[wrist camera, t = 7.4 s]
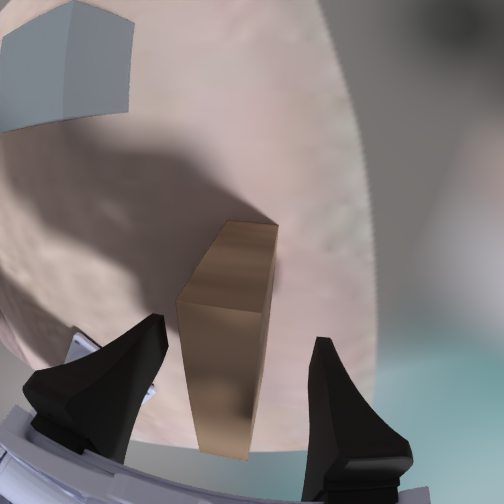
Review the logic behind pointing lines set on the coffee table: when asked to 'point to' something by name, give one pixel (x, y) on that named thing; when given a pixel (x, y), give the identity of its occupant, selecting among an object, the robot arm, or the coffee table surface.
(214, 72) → the coffee table surface
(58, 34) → the letter block
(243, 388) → the walnut board
